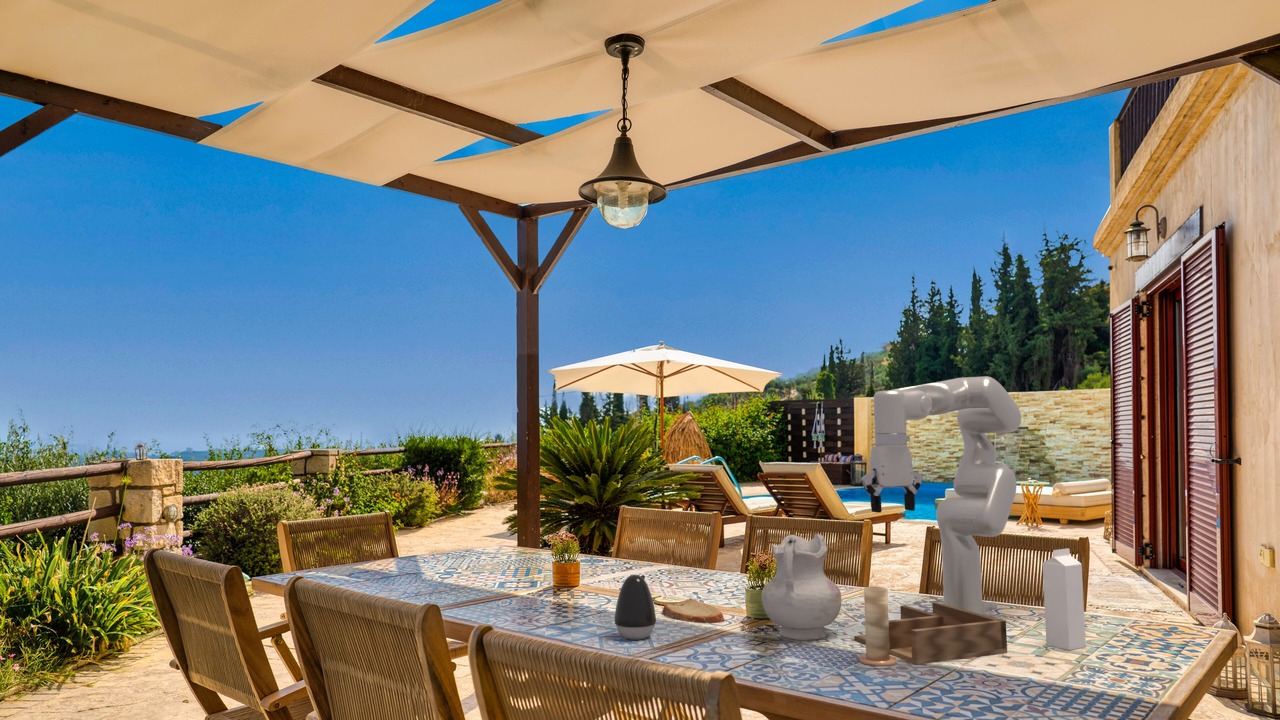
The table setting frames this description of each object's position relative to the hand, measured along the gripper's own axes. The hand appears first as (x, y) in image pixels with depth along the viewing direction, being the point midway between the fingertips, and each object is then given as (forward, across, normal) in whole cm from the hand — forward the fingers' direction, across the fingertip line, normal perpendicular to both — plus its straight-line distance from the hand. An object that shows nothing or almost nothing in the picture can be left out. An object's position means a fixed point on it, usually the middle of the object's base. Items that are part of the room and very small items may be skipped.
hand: (893, 511), depth 216 cm
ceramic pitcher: (+31, +20, -11) cm, 38 cm away
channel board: (+30, -1, +10) cm, 32 cm away
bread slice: (+31, +35, -43) cm, 64 cm away
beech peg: (+30, +17, +16) cm, 38 cm away
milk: (+31, -30, +22) cm, 48 cm away
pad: (+30, +17, +16) cm, 38 cm away
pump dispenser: (+31, +58, -26) cm, 70 cm away
